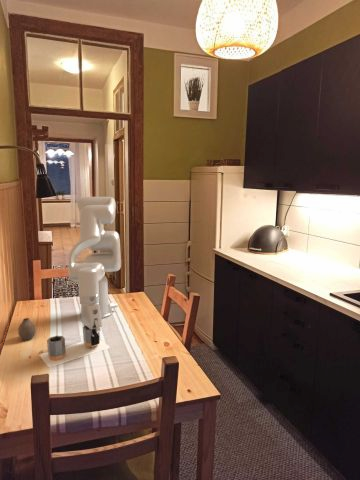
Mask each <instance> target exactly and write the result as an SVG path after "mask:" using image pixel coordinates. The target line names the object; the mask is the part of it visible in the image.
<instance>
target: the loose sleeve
mask: <svg viewBox="0 0 360 480" xmlns="http://www.w3.org/2000/svg"><path fill="white" fill-rule="evenodd" d="M94 327H95V326H93V327H92V328H94ZM95 330H96V329H94V330H93V333H94V331H95ZM82 334H83V336H82V337H83V341H84V345H85V346H86V347H93V346H92V345H91V336H92V335H91V330H90V329H89V328H88V327H87V326H84V325H83V327H82ZM100 339H101V338H100V334H99V343H100ZM97 345H98V344H97ZM94 346H96V345H94Z"/></svg>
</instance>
